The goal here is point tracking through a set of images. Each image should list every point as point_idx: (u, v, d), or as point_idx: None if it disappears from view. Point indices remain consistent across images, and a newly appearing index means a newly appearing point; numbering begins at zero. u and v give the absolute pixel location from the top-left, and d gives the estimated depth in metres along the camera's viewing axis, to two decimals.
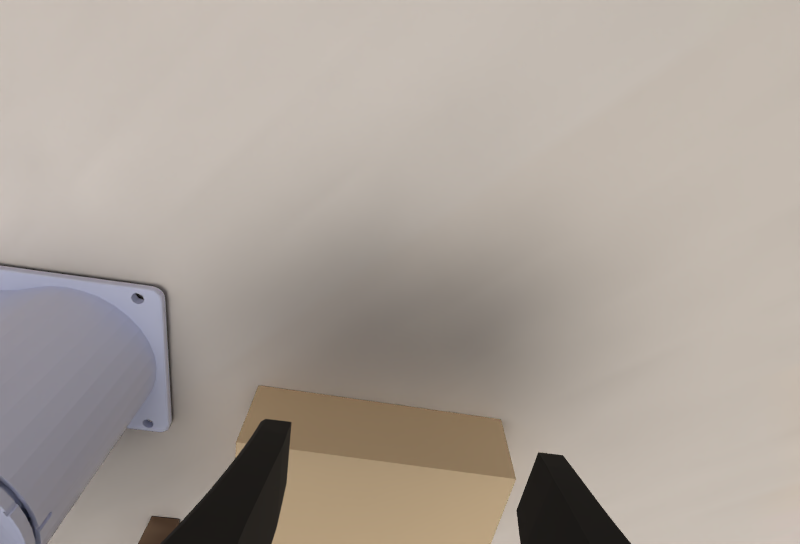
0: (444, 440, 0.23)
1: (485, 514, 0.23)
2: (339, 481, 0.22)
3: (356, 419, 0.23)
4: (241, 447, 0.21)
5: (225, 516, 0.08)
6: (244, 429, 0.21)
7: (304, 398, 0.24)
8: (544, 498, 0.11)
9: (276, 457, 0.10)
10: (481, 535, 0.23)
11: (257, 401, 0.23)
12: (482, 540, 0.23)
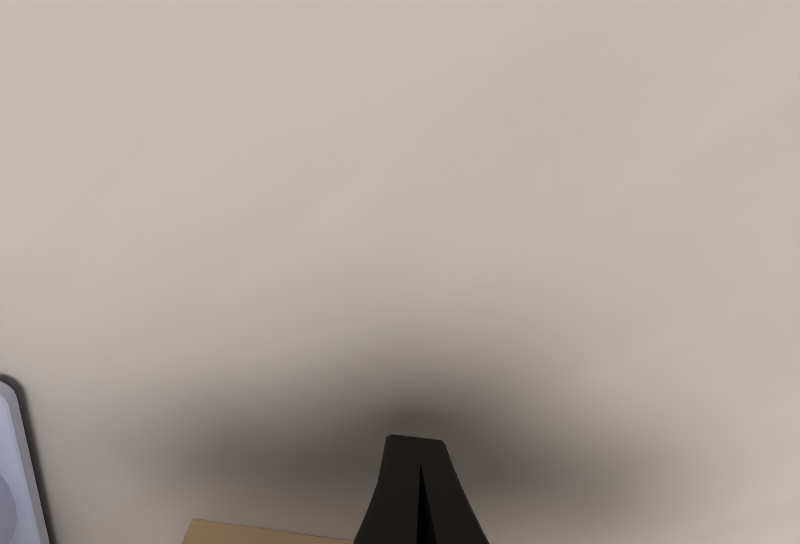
0: None
1: None
2: None
3: None
4: None
5: (395, 535, 0.09)
6: None
7: (264, 543, 0.15)
8: None
9: (419, 474, 0.10)
10: None
11: None
12: None
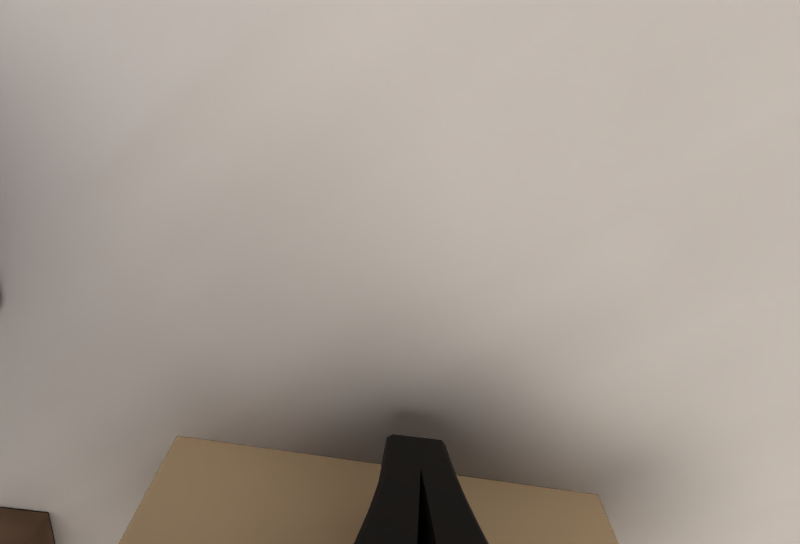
0: (509, 541, 0.13)
1: None
2: None
3: (349, 500, 0.13)
4: None
5: (395, 535, 0.09)
6: (131, 532, 0.11)
7: (256, 458, 0.13)
8: None
9: (419, 474, 0.10)
10: None
11: (169, 467, 0.13)
12: None
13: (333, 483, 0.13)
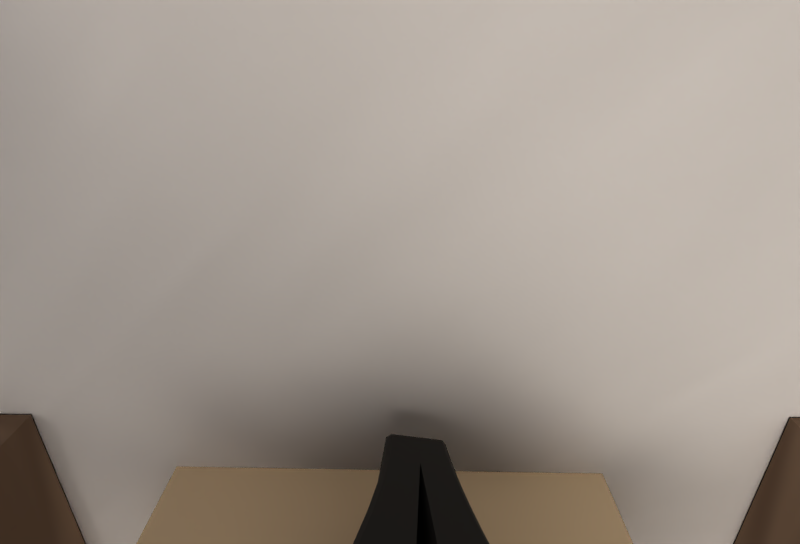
0: (507, 532, 0.12)
1: None
2: None
3: (343, 509, 0.13)
4: None
5: (395, 535, 0.09)
6: None
7: (253, 478, 0.14)
8: None
9: (418, 474, 0.10)
10: None
11: (169, 497, 0.13)
12: None
13: (327, 494, 0.13)
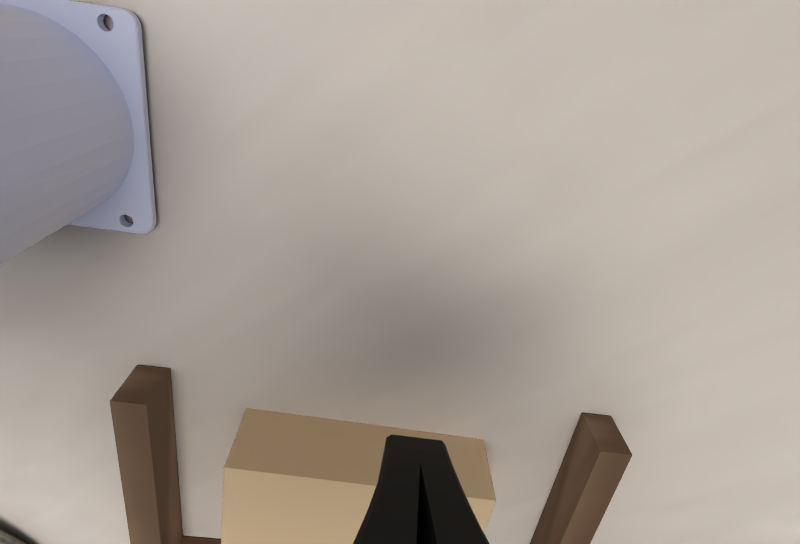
0: None
1: None
2: (324, 503, 0.22)
3: (342, 442, 0.24)
4: (229, 472, 0.21)
5: (394, 535, 0.09)
6: (232, 454, 0.22)
7: (291, 421, 0.24)
8: None
9: (418, 474, 0.10)
10: None
11: (245, 425, 0.24)
12: None
13: (333, 433, 0.24)
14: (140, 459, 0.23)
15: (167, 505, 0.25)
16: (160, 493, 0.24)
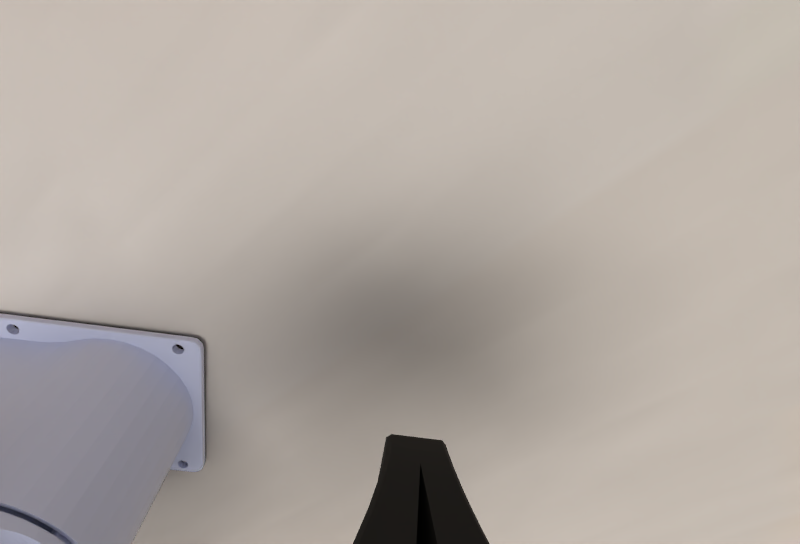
0: None
1: None
2: None
3: None
4: None
5: (395, 535, 0.09)
6: None
7: None
8: None
9: (418, 474, 0.10)
10: None
11: None
12: None
13: None
14: None
15: None
16: None
